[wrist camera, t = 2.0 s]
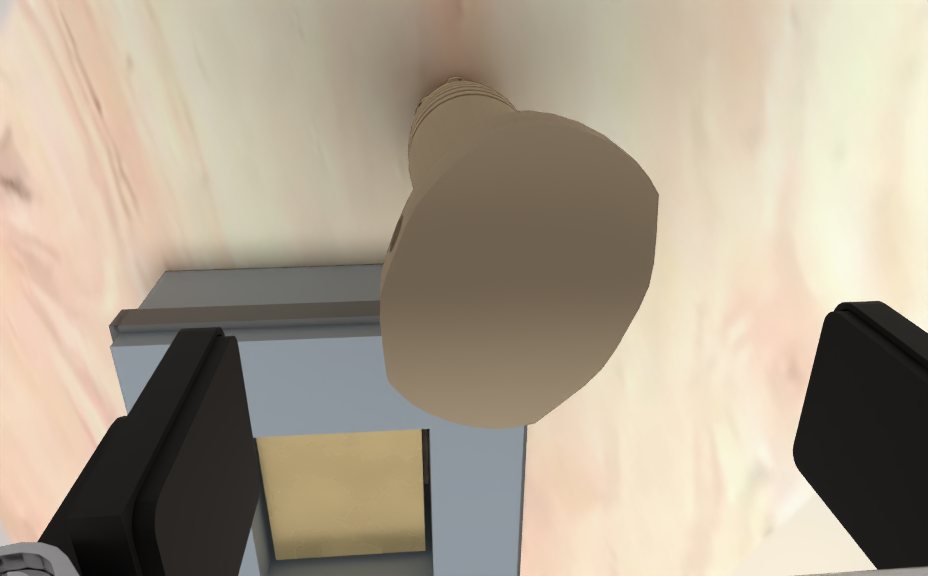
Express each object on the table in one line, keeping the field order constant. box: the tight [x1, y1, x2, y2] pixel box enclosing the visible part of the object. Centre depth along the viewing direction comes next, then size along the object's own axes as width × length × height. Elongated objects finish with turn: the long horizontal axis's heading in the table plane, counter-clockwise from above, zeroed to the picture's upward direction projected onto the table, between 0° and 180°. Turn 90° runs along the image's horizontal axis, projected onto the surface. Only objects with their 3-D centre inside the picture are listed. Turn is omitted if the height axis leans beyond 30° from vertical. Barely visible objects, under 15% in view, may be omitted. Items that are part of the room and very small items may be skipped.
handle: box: [380, 77, 659, 429], centre depth 20 cm, size 5×6×15 cm
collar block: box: [109, 264, 527, 576], centre depth 30 cm, size 17×15×6 cm
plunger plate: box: [256, 429, 425, 560], centre depth 29 cm, size 7×6×1 cm
